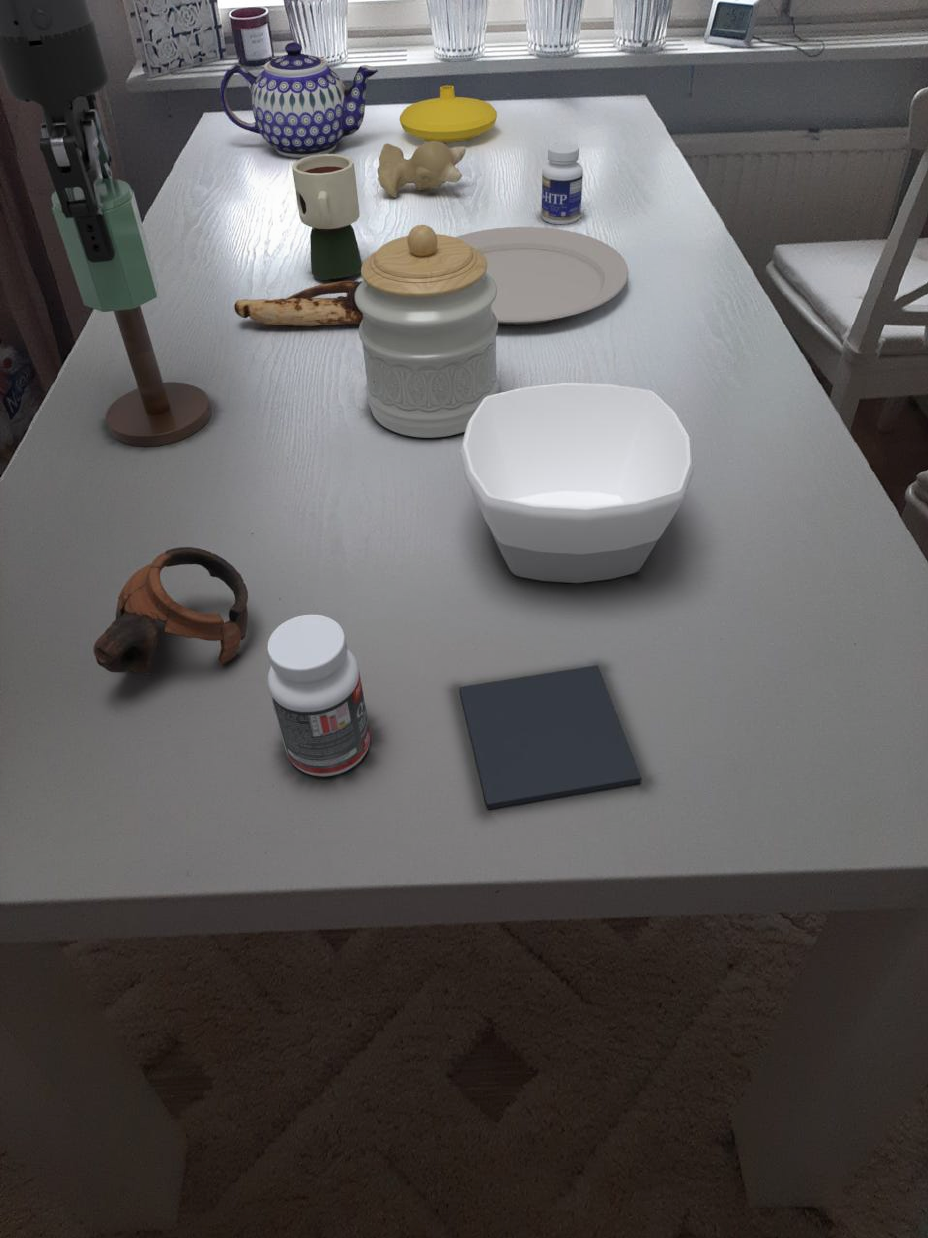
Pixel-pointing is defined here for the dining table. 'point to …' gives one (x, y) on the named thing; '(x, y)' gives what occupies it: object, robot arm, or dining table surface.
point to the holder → (153, 395)
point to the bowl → (576, 477)
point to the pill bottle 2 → (562, 184)
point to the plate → (547, 272)
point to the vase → (448, 117)
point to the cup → (131, 267)
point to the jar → (427, 333)
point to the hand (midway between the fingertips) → (106, 242)
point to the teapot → (301, 103)
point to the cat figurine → (419, 166)
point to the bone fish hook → (306, 307)
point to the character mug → (329, 213)
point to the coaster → (546, 737)
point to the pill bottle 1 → (317, 696)
